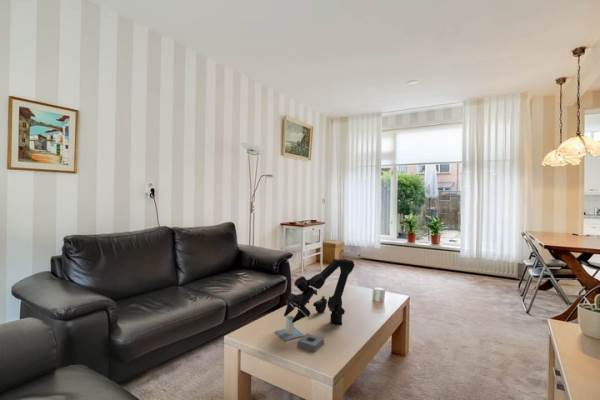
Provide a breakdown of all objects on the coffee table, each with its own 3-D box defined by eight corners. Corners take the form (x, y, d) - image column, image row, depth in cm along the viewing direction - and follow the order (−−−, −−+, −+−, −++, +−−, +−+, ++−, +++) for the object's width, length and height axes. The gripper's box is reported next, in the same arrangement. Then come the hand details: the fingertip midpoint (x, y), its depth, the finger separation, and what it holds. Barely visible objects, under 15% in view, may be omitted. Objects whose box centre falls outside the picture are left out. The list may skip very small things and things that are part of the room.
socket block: (307, 338, 161) (307, 333, 161) (323, 343, 156) (323, 338, 156) (297, 346, 153) (297, 340, 153) (314, 352, 148) (315, 346, 148)
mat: (293, 327, 174) (293, 326, 174) (304, 336, 164) (304, 335, 164) (275, 332, 168) (275, 331, 168) (285, 341, 158) (285, 340, 158)
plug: (290, 331, 168) (291, 315, 168) (293, 333, 166) (293, 317, 166) (286, 332, 167) (286, 316, 167) (288, 334, 164) (289, 318, 164)
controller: (327, 311, 202) (328, 296, 202) (317, 316, 192) (317, 301, 192) (322, 309, 204) (322, 294, 204) (311, 314, 195) (312, 299, 194)
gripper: (289, 283, 176) (271, 305, 170) (306, 292, 160) (287, 316, 154) (300, 294, 180) (283, 316, 175) (318, 304, 164) (300, 329, 159)
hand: (288, 319), depth 166 cm, fingers open, 9 cm apart
